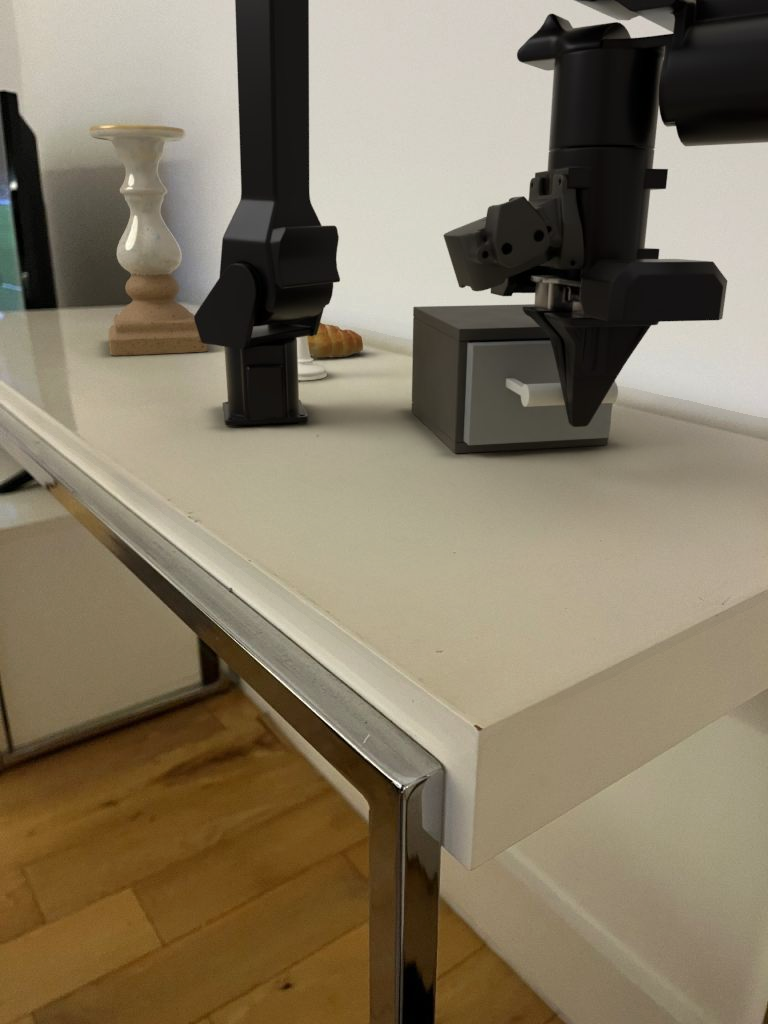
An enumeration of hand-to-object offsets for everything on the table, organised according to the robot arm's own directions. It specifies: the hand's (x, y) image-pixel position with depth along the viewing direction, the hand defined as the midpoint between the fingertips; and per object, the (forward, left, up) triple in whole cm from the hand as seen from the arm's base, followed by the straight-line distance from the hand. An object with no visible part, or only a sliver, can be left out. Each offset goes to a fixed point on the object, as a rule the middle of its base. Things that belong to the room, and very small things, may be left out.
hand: (578, 426), depth 51 cm
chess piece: (-36, -13, -4) cm, 39 cm away
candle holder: (-57, -28, -4) cm, 64 cm away
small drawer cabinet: (-13, 0, -4) cm, 14 cm away
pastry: (-48, -10, -4) cm, 49 cm away
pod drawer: (-9, 0, -3) cm, 10 cm away
